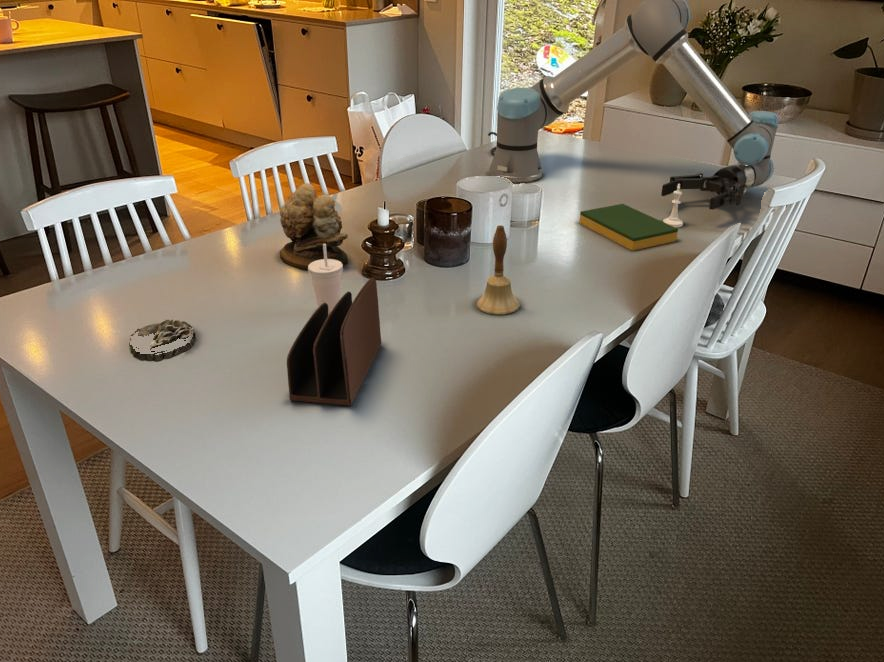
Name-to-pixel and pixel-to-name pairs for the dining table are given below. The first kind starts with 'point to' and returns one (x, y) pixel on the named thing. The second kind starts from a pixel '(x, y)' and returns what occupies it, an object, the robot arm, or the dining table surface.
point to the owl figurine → (311, 228)
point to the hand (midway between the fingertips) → (686, 197)
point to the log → (165, 338)
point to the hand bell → (498, 282)
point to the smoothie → (326, 280)
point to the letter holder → (335, 349)
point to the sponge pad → (628, 226)
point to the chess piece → (675, 210)
